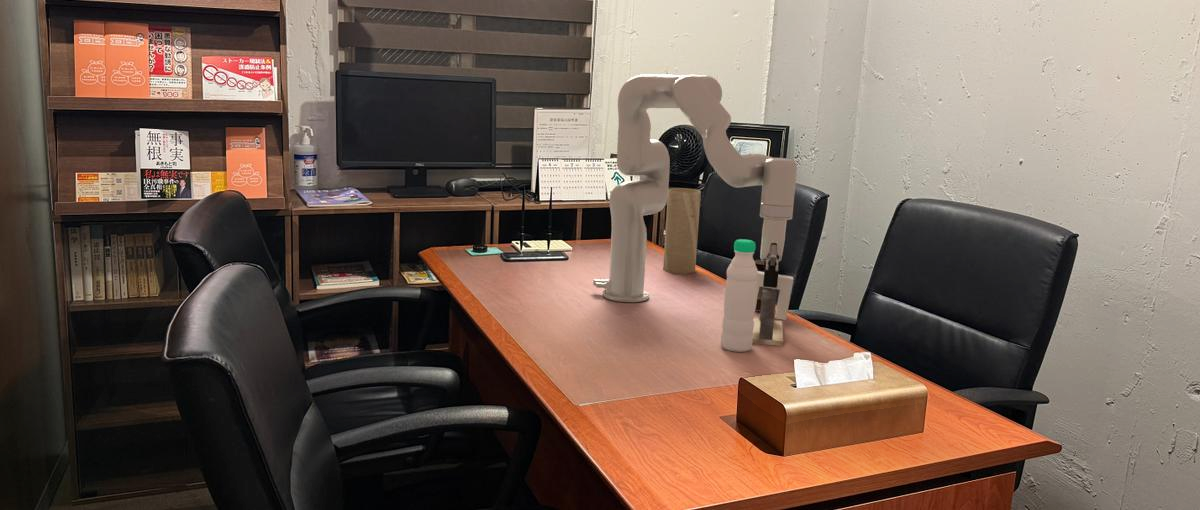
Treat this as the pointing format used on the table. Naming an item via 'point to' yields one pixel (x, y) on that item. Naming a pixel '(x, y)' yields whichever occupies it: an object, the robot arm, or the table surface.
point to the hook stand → (767, 321)
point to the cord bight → (784, 293)
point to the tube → (681, 230)
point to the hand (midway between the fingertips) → (769, 282)
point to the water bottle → (740, 298)
